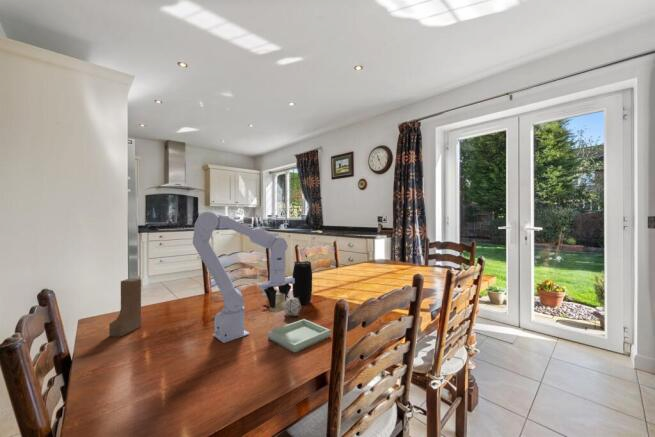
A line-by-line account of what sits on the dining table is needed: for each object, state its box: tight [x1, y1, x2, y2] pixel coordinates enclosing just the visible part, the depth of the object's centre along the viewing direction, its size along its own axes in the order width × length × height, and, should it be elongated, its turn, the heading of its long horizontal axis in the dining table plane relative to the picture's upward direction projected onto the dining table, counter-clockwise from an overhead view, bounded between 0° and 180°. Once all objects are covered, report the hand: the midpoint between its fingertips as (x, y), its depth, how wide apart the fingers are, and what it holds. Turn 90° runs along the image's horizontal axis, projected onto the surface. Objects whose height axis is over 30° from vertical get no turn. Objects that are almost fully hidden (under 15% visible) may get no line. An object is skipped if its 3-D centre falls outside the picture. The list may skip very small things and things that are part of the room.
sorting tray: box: [267, 318, 332, 354], centre depth 95 cm, size 16×14×2 cm
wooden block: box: [108, 277, 142, 338], centre depth 99 cm, size 9×4×18 cm, turn 173°
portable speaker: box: [292, 260, 313, 305], centre depth 133 cm, size 9×9×20 cm
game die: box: [283, 295, 304, 318], centre depth 116 cm, size 9×8×10 cm
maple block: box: [269, 292, 285, 314], centre depth 103 cm, size 4×4×6 cm
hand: (277, 305), depth 103 cm, fingers closed on maple block, 4 cm apart
